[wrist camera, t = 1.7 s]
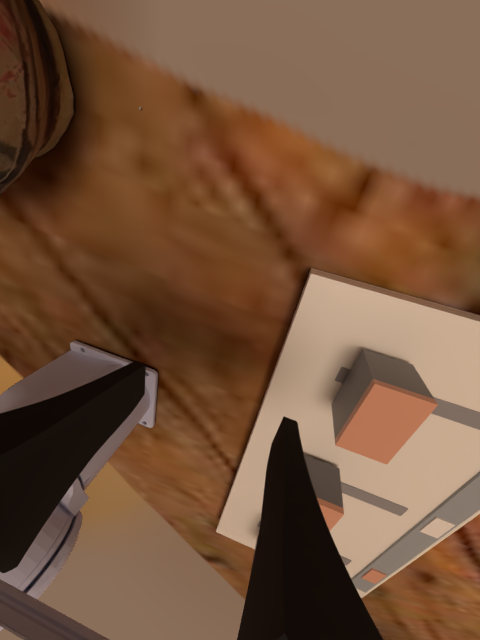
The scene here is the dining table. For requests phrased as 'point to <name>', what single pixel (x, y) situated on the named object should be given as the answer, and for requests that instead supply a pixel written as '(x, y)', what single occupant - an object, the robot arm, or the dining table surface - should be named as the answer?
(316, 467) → the switch middle
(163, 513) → the dining table surface
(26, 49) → the ceramic jug
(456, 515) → the switch unit
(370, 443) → the switch
